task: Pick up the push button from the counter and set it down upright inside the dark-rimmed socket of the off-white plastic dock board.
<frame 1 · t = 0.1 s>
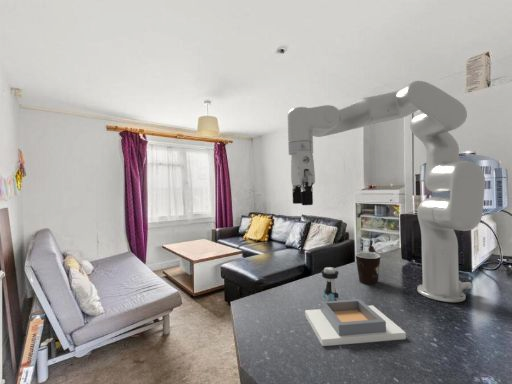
hand: (302, 204, 78), 31 cm above the countertop, tool pointing down, fingers open, 9 cm apart
coffee mug: (365, 282, 94), on the countertop
dock board: (350, 326, 64), on the countertop
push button: (332, 301, 79), on the countertop
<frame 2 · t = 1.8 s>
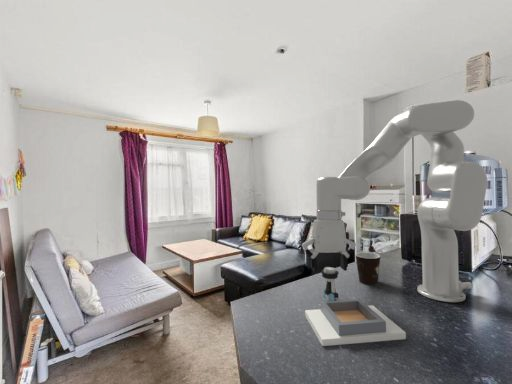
hand: (328, 269, 79), 10 cm above the countertop, tool pointing down, fingers open, 9 cm apart
nothing on the countertop moved.
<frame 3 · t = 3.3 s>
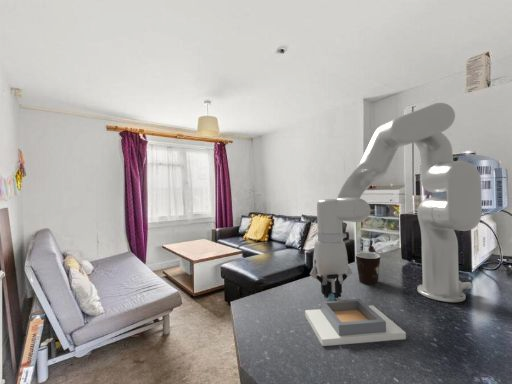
hand: (331, 295, 79), 2 cm above the countertop, tool pointing down, fingers closed on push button, 3 cm apart
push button: (332, 301, 79), on the countertop, touching gripper
everything else where it was.
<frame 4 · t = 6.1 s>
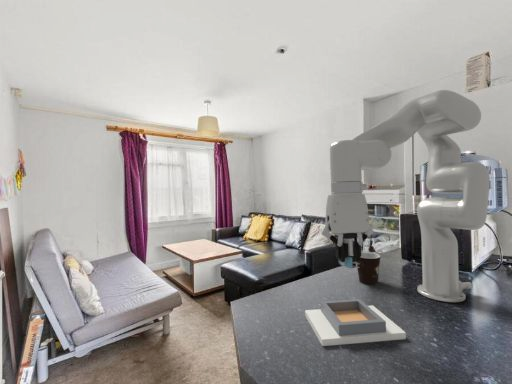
hand: (348, 259, 65), 17 cm above the countertop, tool pointing down, fingers closed on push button, 3 cm apart
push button: (349, 267, 65), point 15 cm above the countertop, touching gripper
everything else where it was.
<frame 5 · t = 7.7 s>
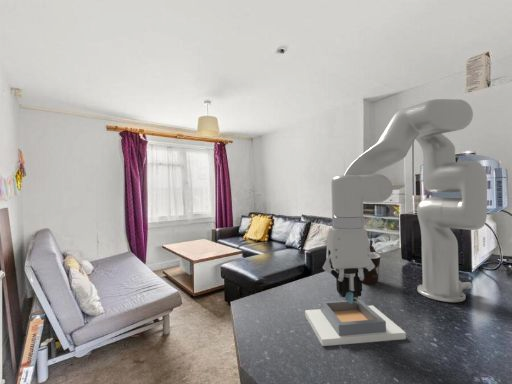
hand: (349, 293, 64), 8 cm above the countertop, tool pointing down, fingers closed on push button, 3 cm apart
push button: (349, 301, 64), point 6 cm above the countertop, touching gripper
everything else where it was.
when the fingers open (5 cm above the countertop, at t = 9.1 s): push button drops 1 cm, resting on dock board.
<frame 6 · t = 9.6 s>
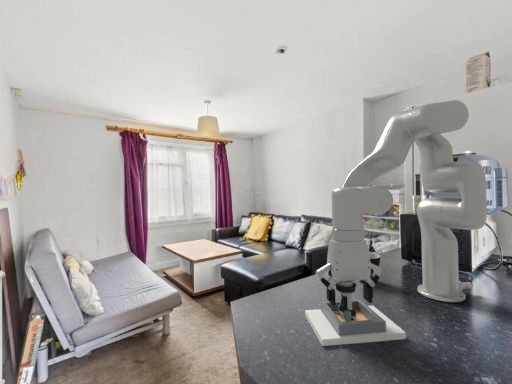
hand: (349, 301, 64), 6 cm above the countertop, tool pointing down, fingers open, 9 cm apart
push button: (348, 320, 65), point 1 cm above the countertop, touching dock board
everything else where it was.
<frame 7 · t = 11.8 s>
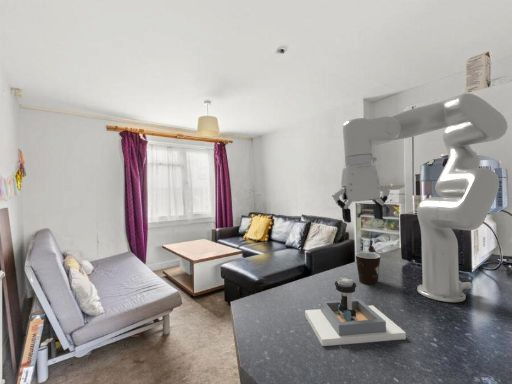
hand: (363, 220, 74), 26 cm above the countertop, tool pointing down, fingers open, 9 cm apart
nothing on the countertop moved.
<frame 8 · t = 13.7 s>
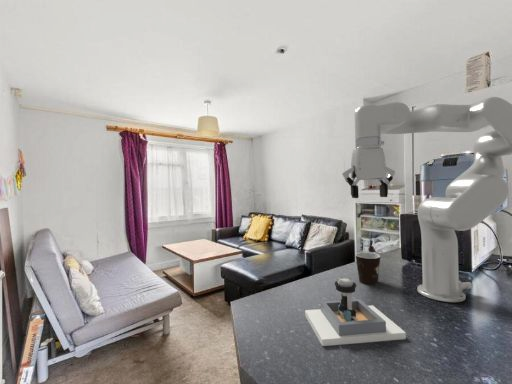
hand: (369, 197, 81), 32 cm above the countertop, tool pointing down, fingers open, 9 cm apart
nothing on the countertop moved.
at the end: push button 0.6 cm off-centre on the dock board, point 1.4 cm above the dock board's base; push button tilted 0°; the gripper is holding nothing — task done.
